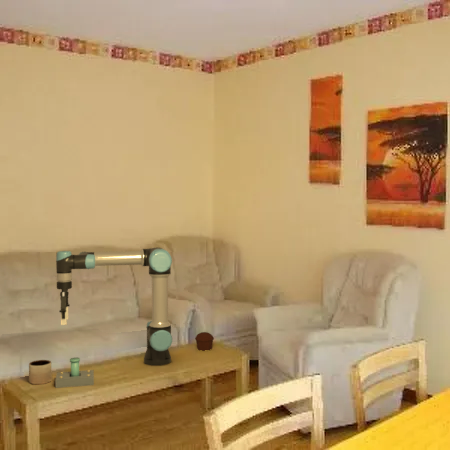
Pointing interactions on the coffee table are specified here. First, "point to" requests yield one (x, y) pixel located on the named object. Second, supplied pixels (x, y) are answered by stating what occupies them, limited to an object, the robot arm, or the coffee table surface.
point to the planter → (40, 372)
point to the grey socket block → (74, 379)
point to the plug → (74, 366)
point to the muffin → (204, 341)
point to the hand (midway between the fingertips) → (64, 321)
